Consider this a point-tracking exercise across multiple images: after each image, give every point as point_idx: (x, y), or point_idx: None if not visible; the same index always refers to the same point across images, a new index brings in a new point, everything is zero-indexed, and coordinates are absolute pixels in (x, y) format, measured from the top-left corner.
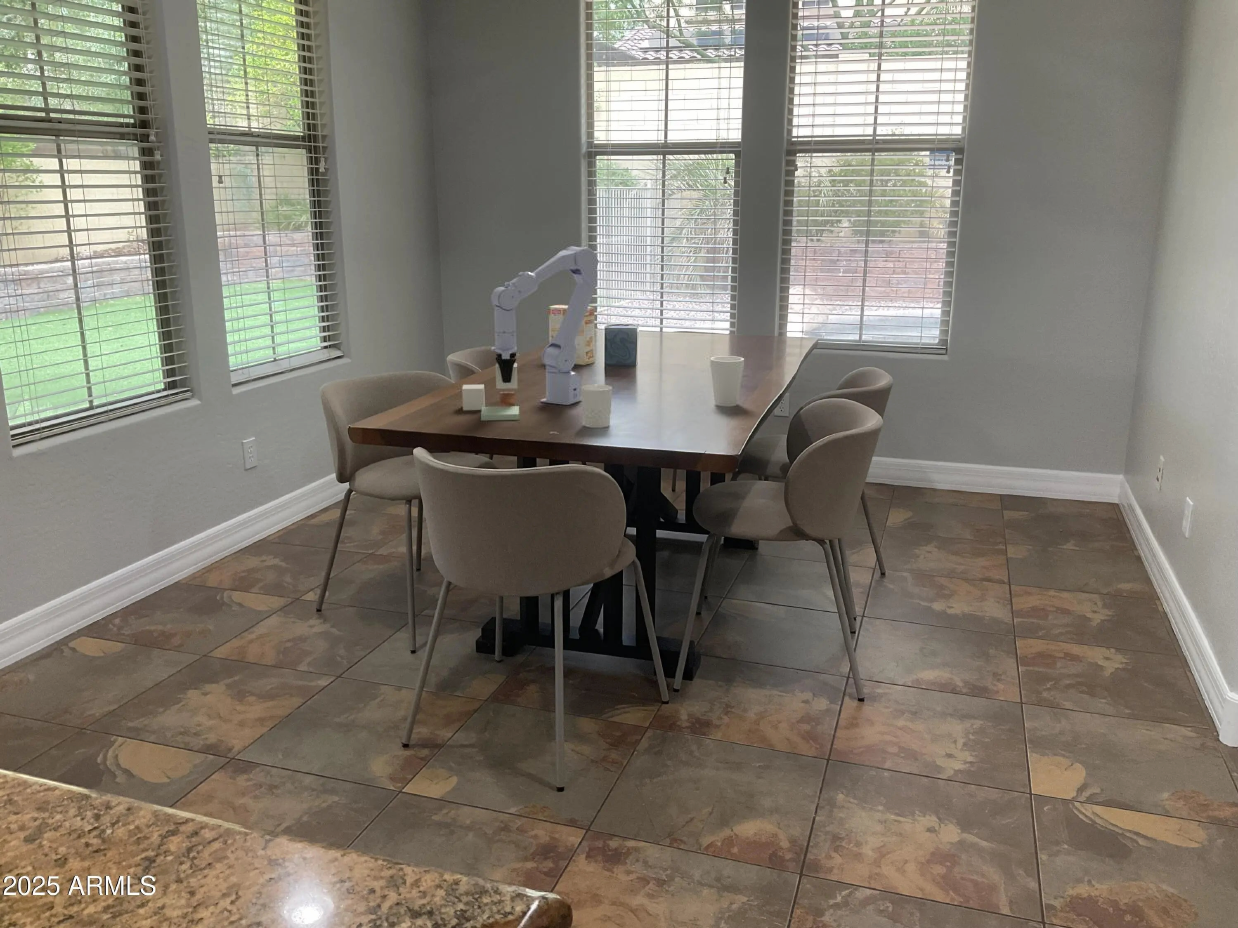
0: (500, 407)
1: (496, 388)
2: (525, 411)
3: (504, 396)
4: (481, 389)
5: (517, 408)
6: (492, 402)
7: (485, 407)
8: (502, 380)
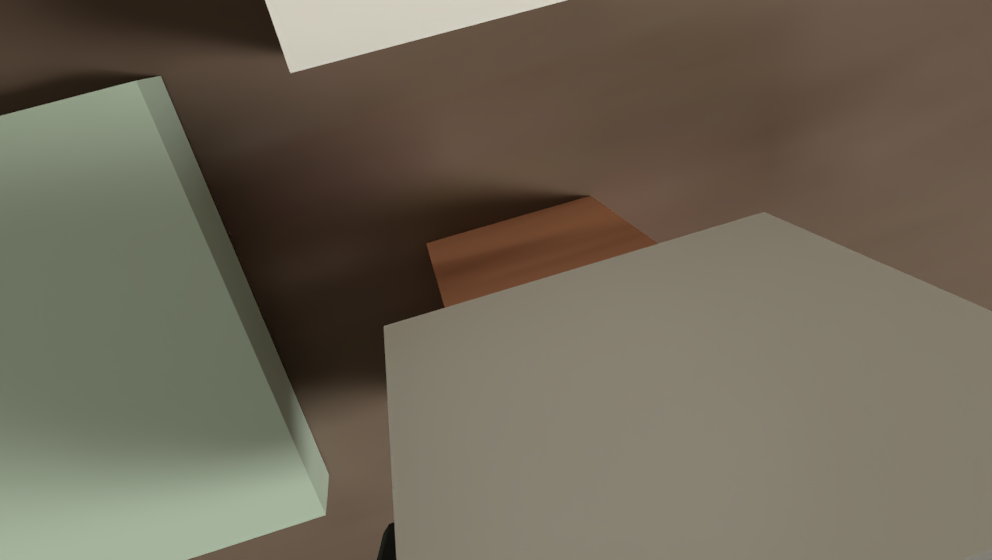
0: (181, 347)
1: (386, 328)
2: (355, 525)
3: None
4: (278, 24)
5: (190, 544)
6: (775, 38)
7: (109, 146)
8: (381, 556)
